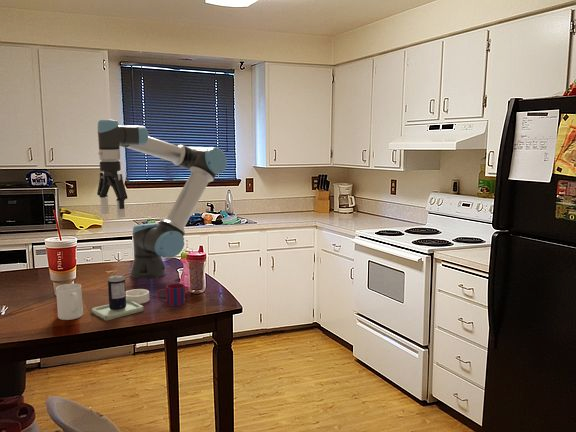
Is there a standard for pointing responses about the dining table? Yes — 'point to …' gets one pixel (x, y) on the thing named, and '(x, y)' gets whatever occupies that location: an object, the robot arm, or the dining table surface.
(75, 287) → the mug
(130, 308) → the tray
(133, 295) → the white round dish
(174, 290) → the cup
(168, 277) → the dining table surface
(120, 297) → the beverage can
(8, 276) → the dining table surface
